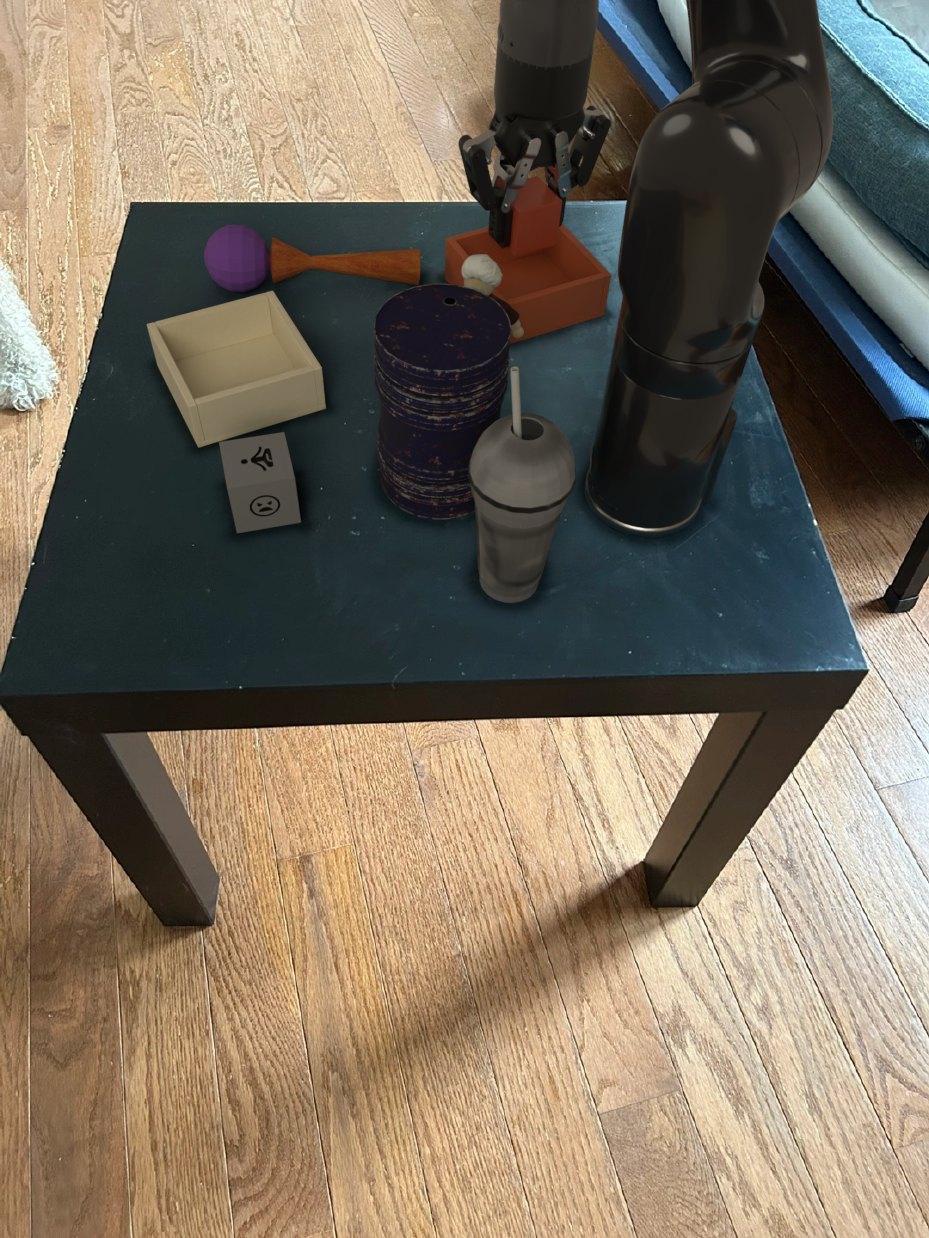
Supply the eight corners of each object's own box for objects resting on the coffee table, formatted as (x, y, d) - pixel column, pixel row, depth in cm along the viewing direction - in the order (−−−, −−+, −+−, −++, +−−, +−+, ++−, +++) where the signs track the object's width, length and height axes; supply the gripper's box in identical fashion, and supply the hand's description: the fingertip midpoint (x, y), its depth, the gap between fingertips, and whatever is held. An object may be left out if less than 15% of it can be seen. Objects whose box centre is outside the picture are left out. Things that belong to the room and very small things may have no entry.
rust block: (532, 220, 93) (537, 175, 90) (556, 245, 91) (562, 200, 87) (491, 231, 92) (494, 186, 88) (514, 257, 90) (519, 212, 86)
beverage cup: (548, 626, 73) (586, 423, 57) (452, 607, 74) (462, 402, 58) (563, 552, 78) (601, 343, 61) (471, 535, 78) (486, 324, 62)
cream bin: (278, 332, 92) (272, 290, 88) (326, 408, 86) (322, 367, 82) (157, 365, 89) (146, 323, 85) (198, 448, 83) (188, 406, 79)
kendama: (423, 267, 92) (200, 257, 89) (417, 313, 97) (206, 304, 94) (419, 220, 94) (203, 208, 91) (414, 267, 100) (209, 257, 97)
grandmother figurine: (431, 396, 88) (433, 270, 77) (431, 367, 90) (433, 241, 80) (518, 397, 88) (532, 273, 78) (516, 368, 90) (529, 243, 80)
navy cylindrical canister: (488, 529, 79) (501, 382, 67) (366, 511, 79) (357, 361, 67) (506, 442, 84) (521, 292, 72) (393, 425, 85) (389, 274, 73)
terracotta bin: (545, 251, 101) (550, 210, 97) (604, 315, 95) (612, 274, 92) (444, 278, 98) (445, 237, 94) (499, 347, 92) (503, 306, 88)
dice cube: (301, 522, 78) (294, 477, 74) (237, 533, 77) (227, 488, 73) (290, 477, 81) (284, 432, 77) (228, 487, 80) (218, 442, 76)
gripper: (488, 78, 73) (475, 279, 87) (648, 43, 78) (612, 240, 91) (441, 34, 77) (436, 233, 91) (597, 3, 81) (570, 198, 95)
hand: (525, 235), depth 91 cm, fingers closed on rust block, 4 cm apart
